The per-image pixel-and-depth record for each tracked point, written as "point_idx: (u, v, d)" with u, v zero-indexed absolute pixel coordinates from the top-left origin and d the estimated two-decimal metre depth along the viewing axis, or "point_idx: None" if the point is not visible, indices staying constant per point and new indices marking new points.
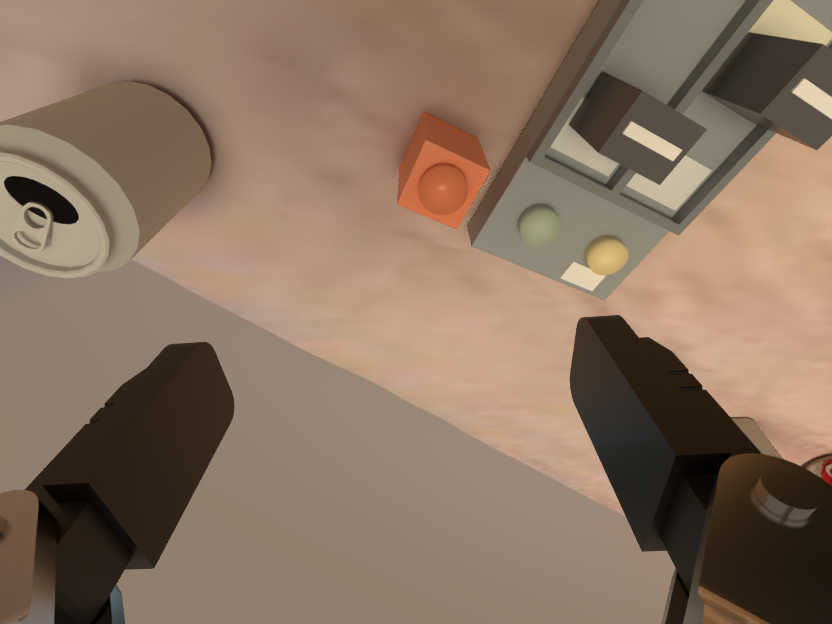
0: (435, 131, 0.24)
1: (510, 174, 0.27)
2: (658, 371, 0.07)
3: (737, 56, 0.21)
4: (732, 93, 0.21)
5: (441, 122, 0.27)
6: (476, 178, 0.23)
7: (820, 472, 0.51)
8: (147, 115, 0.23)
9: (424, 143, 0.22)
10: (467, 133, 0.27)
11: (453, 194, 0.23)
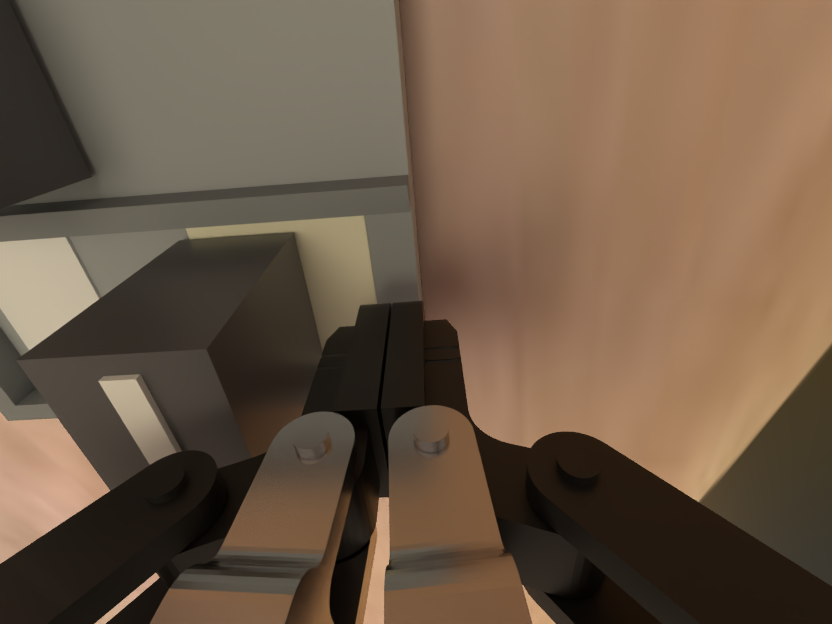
0: None
1: None
2: (417, 345, 0.08)
3: (241, 244, 0.10)
4: (139, 280, 0.09)
5: None
6: None
7: None
8: None
9: None
10: None
11: None
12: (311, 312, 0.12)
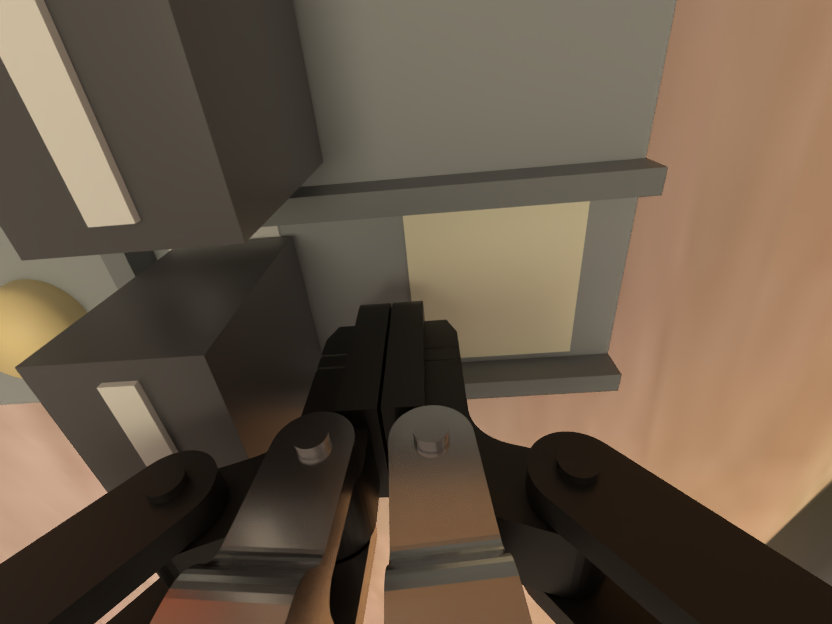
0: None
1: None
2: (417, 345, 0.08)
3: (240, 248, 0.10)
4: (138, 285, 0.09)
5: None
6: None
7: None
8: None
9: None
10: None
11: None
12: (310, 315, 0.12)
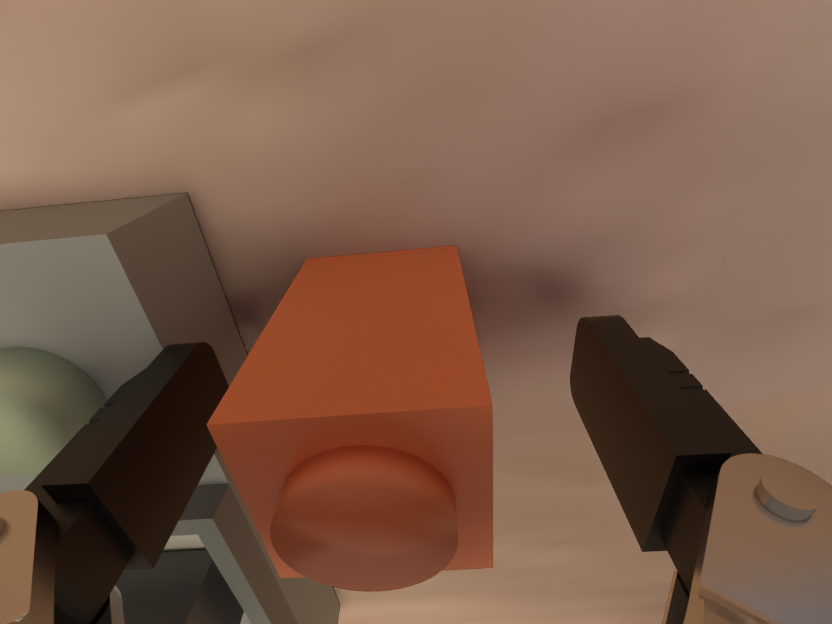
0: None
1: None
2: (658, 371, 0.07)
3: None
4: None
5: None
6: None
7: None
8: None
9: (491, 557, 0.08)
10: None
11: (326, 548, 0.06)
12: None
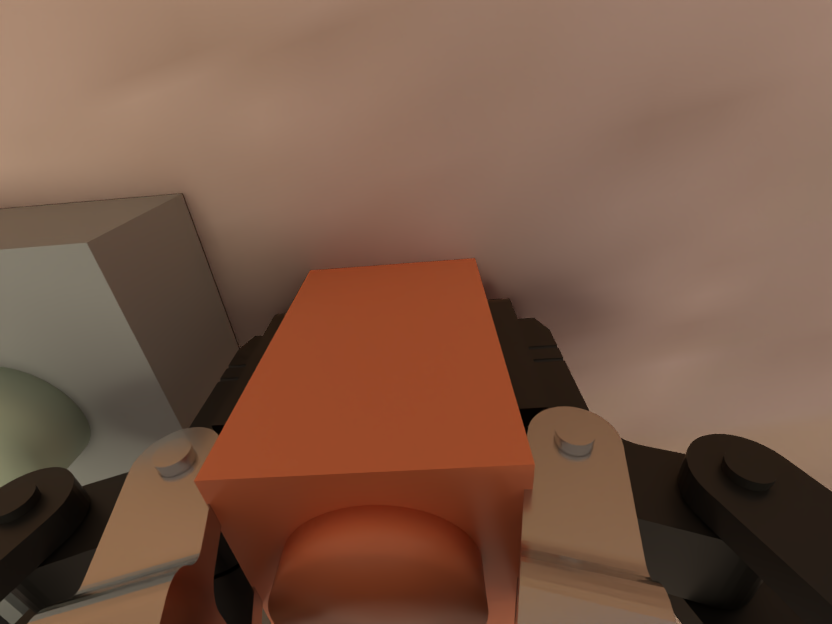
0: None
1: None
2: (520, 344, 0.08)
3: None
4: None
5: None
6: None
7: None
8: None
9: None
10: None
11: (334, 621, 0.05)
12: None
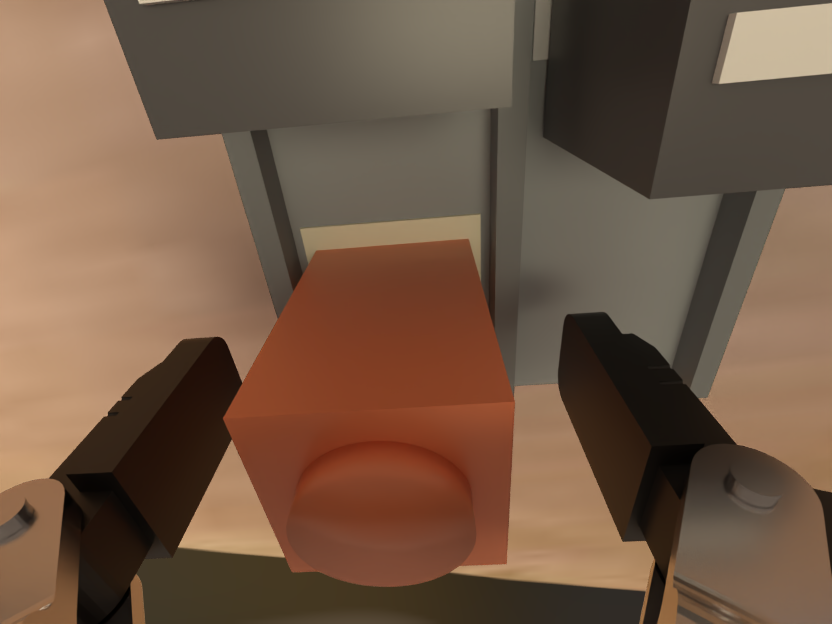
0: None
1: None
2: (639, 365, 0.07)
3: None
4: None
5: None
6: None
7: None
8: None
9: (504, 553, 0.07)
10: None
11: (343, 543, 0.06)
12: None
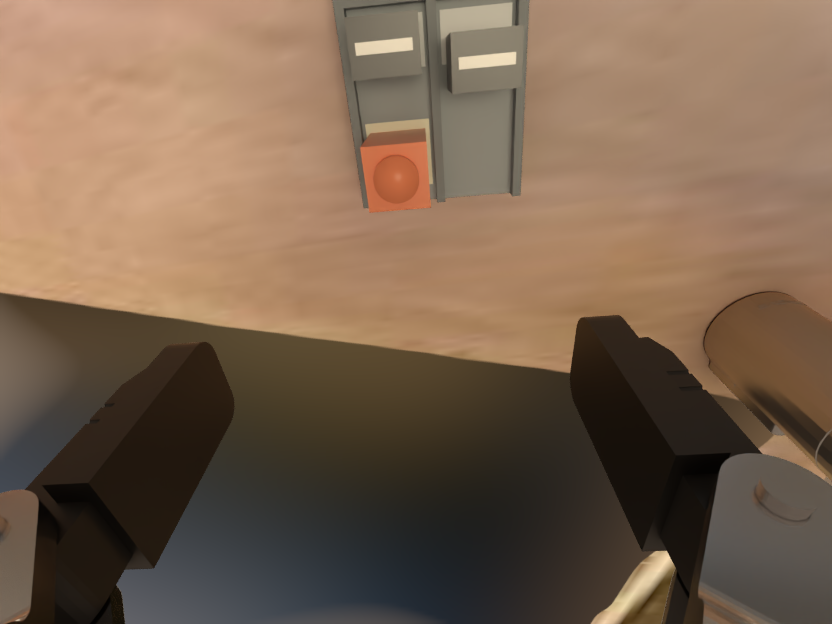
0: None
1: None
2: (658, 371, 0.07)
3: None
4: None
5: None
6: (375, 200, 0.26)
7: None
8: None
9: (430, 203, 0.27)
10: None
11: (386, 183, 0.25)
12: None
